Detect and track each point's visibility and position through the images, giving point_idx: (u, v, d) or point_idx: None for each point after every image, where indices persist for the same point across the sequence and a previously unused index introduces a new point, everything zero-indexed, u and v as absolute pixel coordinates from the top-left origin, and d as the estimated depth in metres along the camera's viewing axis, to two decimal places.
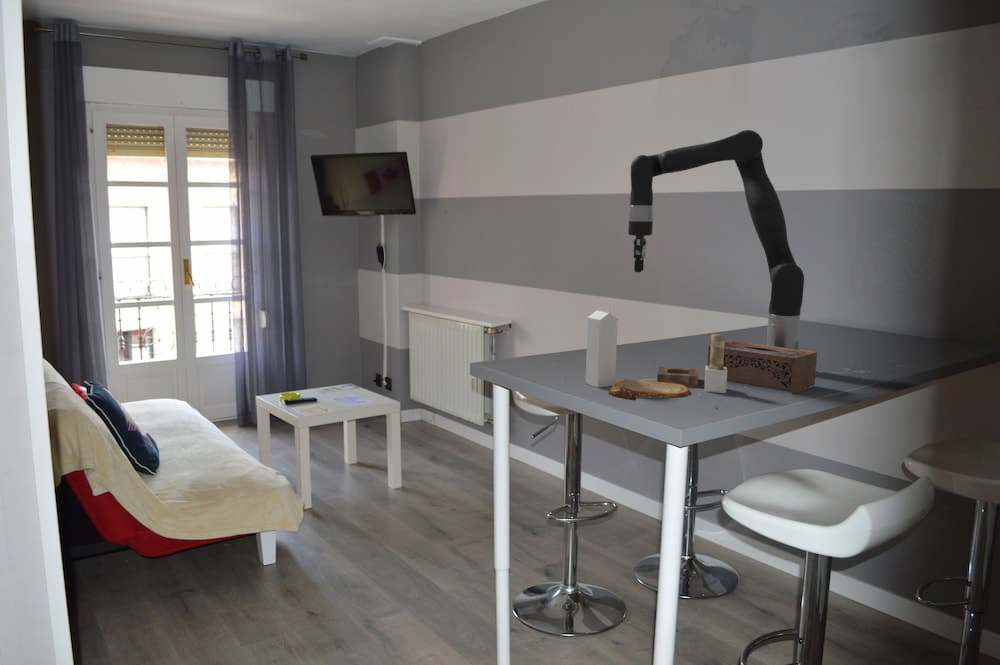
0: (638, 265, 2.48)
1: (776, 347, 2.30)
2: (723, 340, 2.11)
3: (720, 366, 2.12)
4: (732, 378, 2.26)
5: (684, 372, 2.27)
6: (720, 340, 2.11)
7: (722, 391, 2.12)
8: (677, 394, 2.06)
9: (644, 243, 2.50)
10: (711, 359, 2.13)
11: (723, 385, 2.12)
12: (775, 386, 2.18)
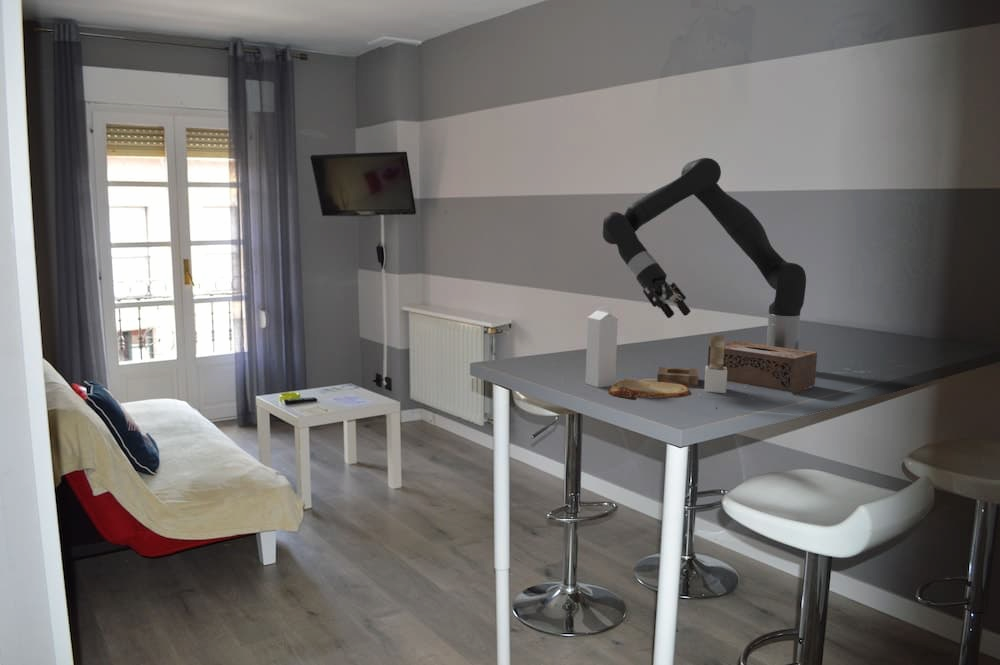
0: (665, 309, 2.17)
1: (776, 347, 2.30)
2: (723, 340, 2.11)
3: (720, 366, 2.12)
4: (731, 377, 2.27)
5: (684, 372, 2.27)
6: (720, 340, 2.11)
7: (722, 391, 2.12)
8: (677, 394, 2.06)
9: (661, 287, 2.21)
10: (711, 359, 2.13)
11: (723, 385, 2.12)
12: (774, 386, 2.18)
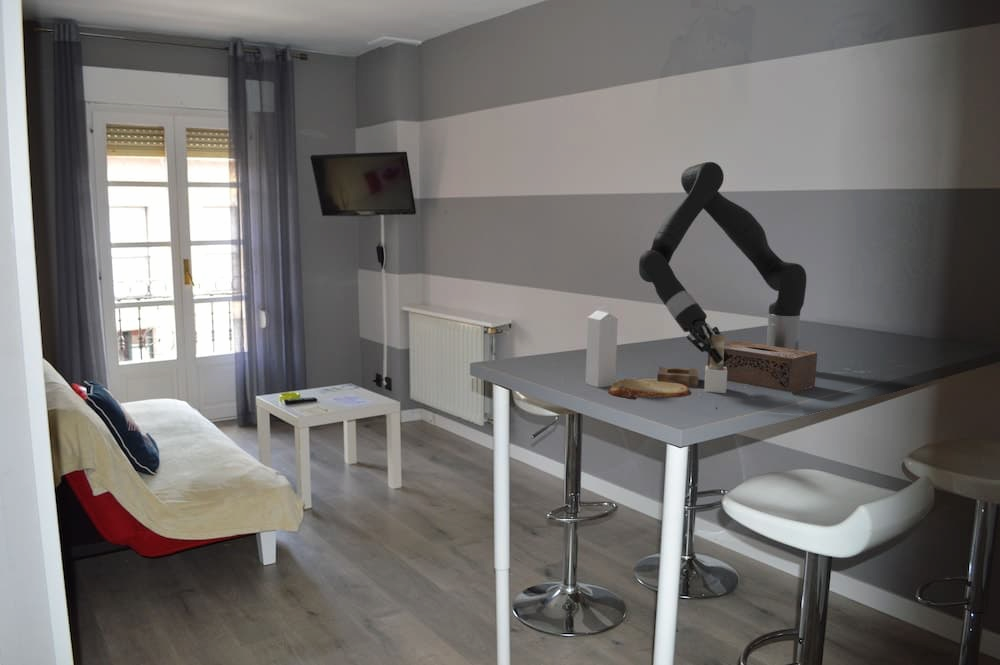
0: (713, 355, 2.11)
1: (777, 347, 2.30)
2: (723, 340, 2.11)
3: (720, 366, 2.12)
4: (731, 377, 2.27)
5: (684, 372, 2.27)
6: (720, 340, 2.11)
7: (722, 391, 2.12)
8: (676, 393, 2.07)
9: (702, 329, 2.13)
10: (711, 359, 2.13)
11: (723, 385, 2.12)
12: (773, 386, 2.18)
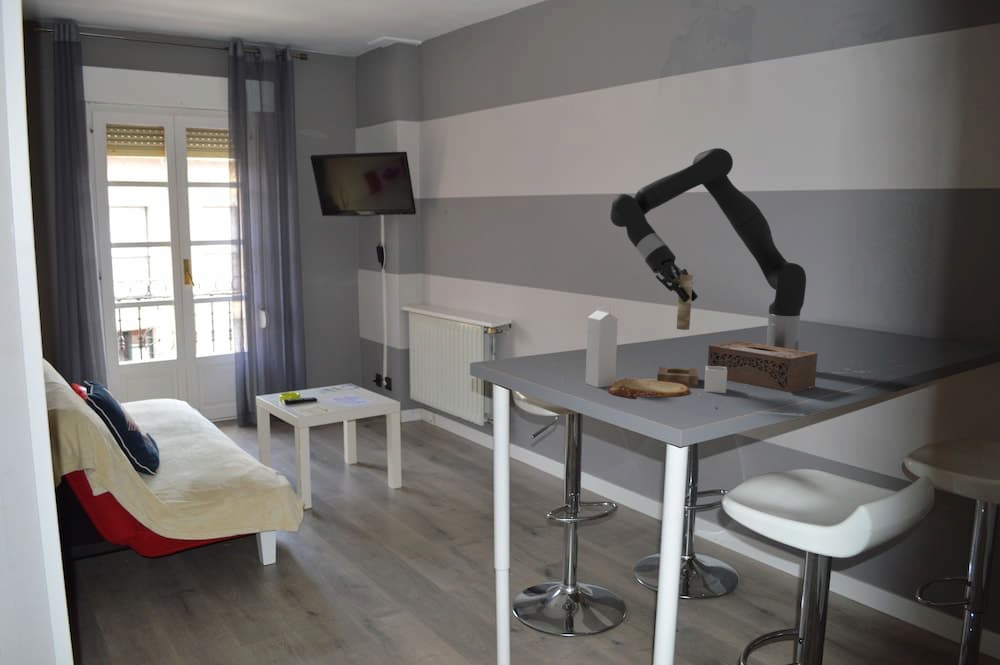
0: (681, 294, 2.17)
1: (777, 347, 2.30)
2: (690, 279, 2.18)
3: (688, 305, 2.19)
4: (730, 377, 2.27)
5: (684, 372, 2.27)
6: (688, 280, 2.18)
7: (722, 391, 2.12)
8: (676, 393, 2.07)
9: (671, 269, 2.20)
10: (679, 298, 2.20)
11: (723, 385, 2.12)
12: (771, 386, 2.18)
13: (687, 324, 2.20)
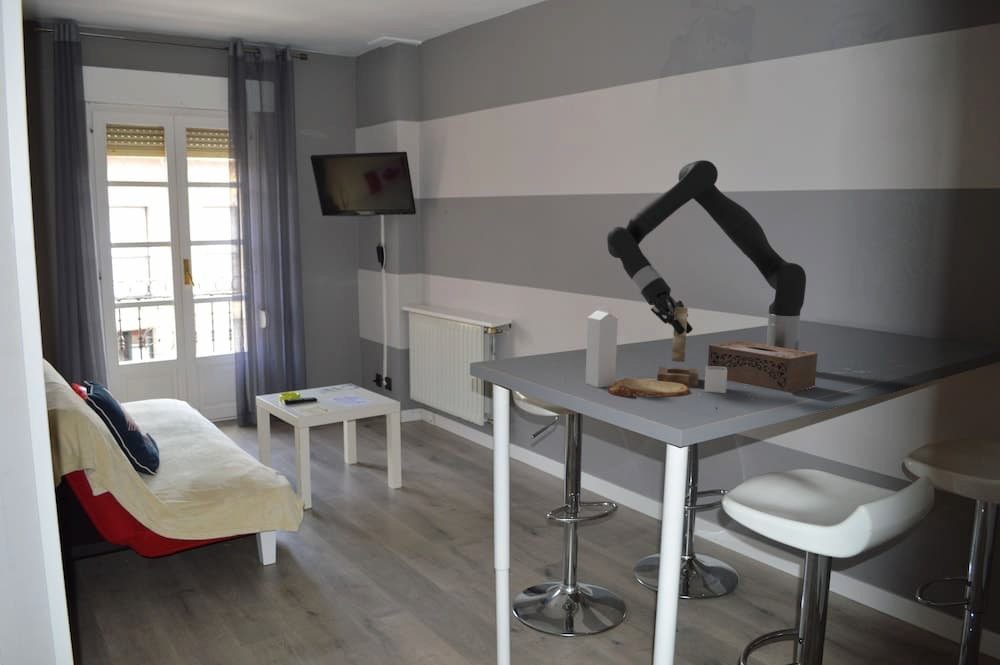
0: (676, 326, 2.20)
1: (778, 347, 2.30)
2: (685, 312, 2.20)
3: (683, 337, 2.21)
4: (730, 377, 2.27)
5: (684, 372, 2.27)
6: (683, 312, 2.20)
7: (722, 391, 2.12)
8: (675, 393, 2.07)
9: (666, 302, 2.23)
10: (674, 331, 2.22)
11: (723, 385, 2.12)
12: (771, 386, 2.18)
13: (682, 356, 2.22)
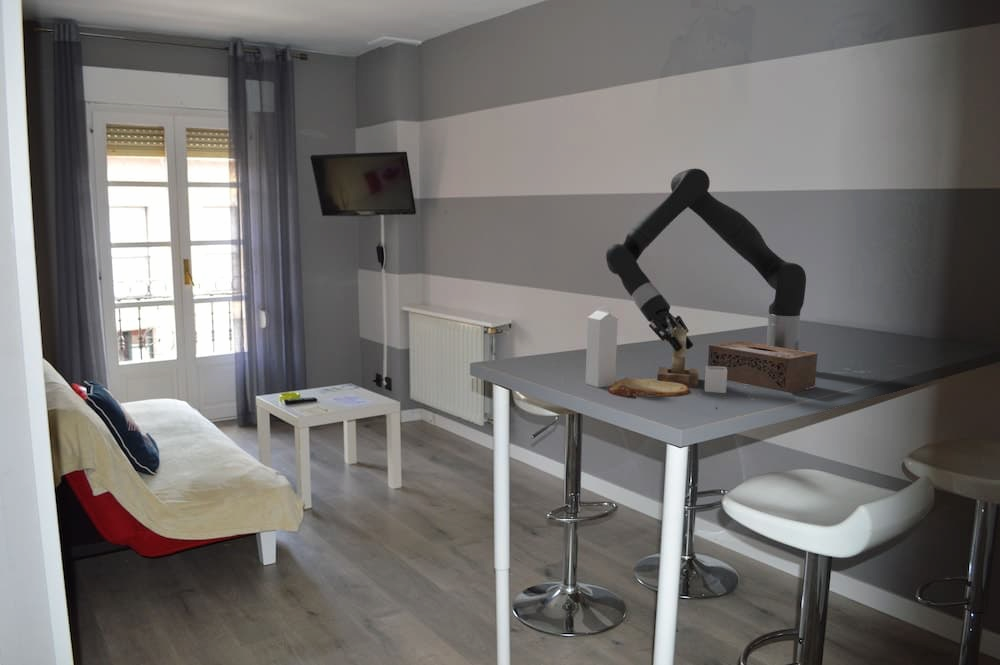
0: (673, 343, 2.20)
1: (778, 347, 2.30)
2: (684, 334, 2.21)
3: (682, 359, 2.22)
4: (730, 377, 2.27)
5: (684, 372, 2.27)
6: (682, 334, 2.21)
7: (722, 391, 2.12)
8: (675, 393, 2.07)
9: (665, 319, 2.23)
10: (673, 352, 2.23)
11: (723, 385, 2.12)
12: (770, 386, 2.18)
13: None
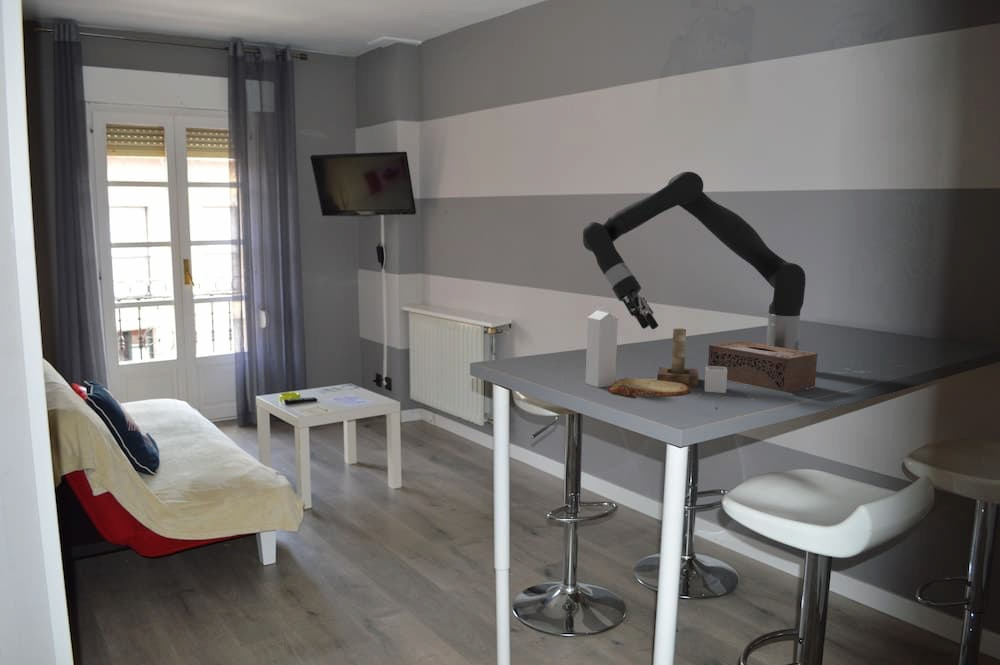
0: (642, 320, 2.27)
1: (778, 348, 2.29)
2: (684, 334, 2.21)
3: (682, 359, 2.22)
4: (730, 377, 2.28)
5: (684, 372, 2.27)
6: (681, 334, 2.21)
7: (722, 391, 2.12)
8: (675, 393, 2.08)
9: (637, 298, 2.31)
10: (673, 352, 2.23)
11: (723, 385, 2.12)
12: (769, 386, 2.18)
13: None
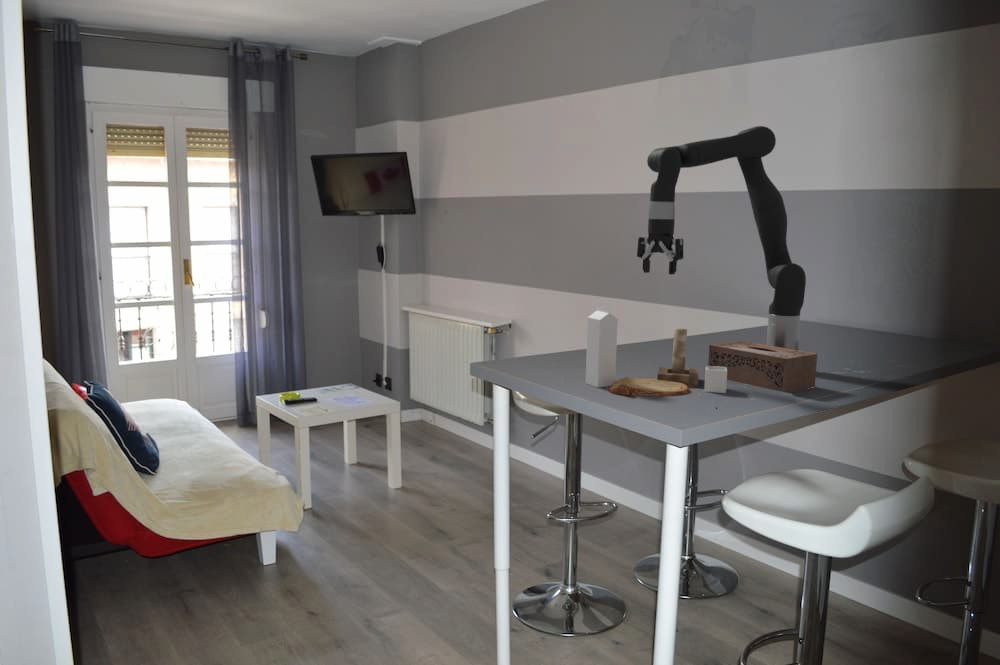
0: (675, 267, 2.30)
1: (779, 348, 2.29)
2: (685, 334, 2.21)
3: (682, 359, 2.22)
4: (729, 376, 2.28)
5: (684, 372, 2.27)
6: (682, 334, 2.21)
7: (722, 391, 2.12)
8: (674, 392, 2.08)
9: None
10: (674, 352, 2.23)
11: (723, 385, 2.12)
12: (768, 386, 2.18)
13: None
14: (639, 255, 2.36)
